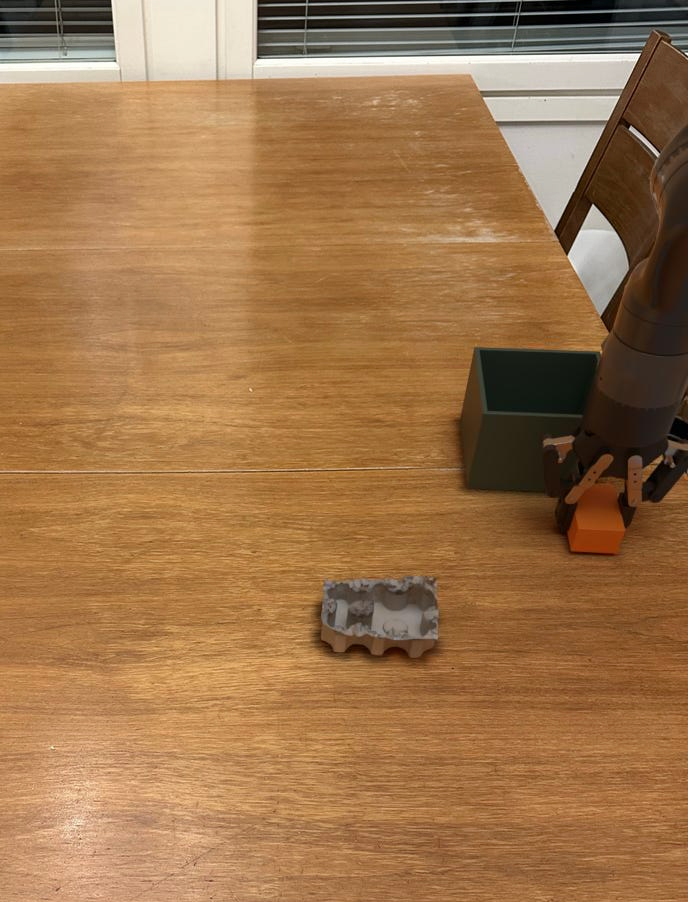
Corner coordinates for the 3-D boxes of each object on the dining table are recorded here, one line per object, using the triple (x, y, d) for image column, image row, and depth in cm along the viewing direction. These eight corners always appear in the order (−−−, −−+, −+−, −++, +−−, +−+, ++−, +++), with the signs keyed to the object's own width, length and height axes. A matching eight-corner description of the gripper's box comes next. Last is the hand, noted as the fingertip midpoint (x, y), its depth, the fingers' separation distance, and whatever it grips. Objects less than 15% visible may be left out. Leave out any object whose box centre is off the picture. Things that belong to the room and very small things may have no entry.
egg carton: (435, 606, 92) (442, 575, 89) (433, 666, 87) (441, 635, 84) (322, 593, 94) (325, 562, 91) (314, 652, 89) (317, 621, 86)
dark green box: (577, 425, 110) (600, 351, 103) (592, 494, 102) (619, 419, 95) (459, 420, 111) (474, 346, 104) (466, 488, 103) (483, 413, 96)
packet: (605, 506, 100) (613, 483, 98) (616, 553, 96) (625, 530, 93) (561, 504, 101) (568, 481, 98) (570, 551, 96) (578, 528, 94)
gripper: (561, 402, 83) (520, 548, 96) (736, 408, 82) (670, 556, 95) (551, 353, 88) (512, 499, 101) (715, 358, 87) (656, 505, 100)
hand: (589, 526), depth 98 cm, fingers closed on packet, 4 cm apart
